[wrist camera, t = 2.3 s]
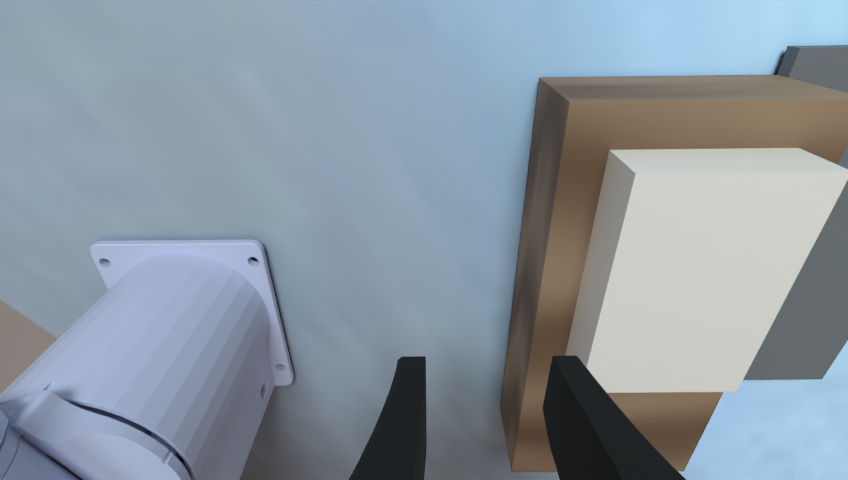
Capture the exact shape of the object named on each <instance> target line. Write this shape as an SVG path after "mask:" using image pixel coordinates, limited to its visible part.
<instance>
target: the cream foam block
mask: <svg viewBox="0 0 848 480" xmlns="http://www.w3.org/2000/svg"><path fill="white" fill-rule="evenodd" d="M847 180H848V169H846V168H844V167H841V166H839V165H837V164H835V163H832V162H830V161H828V160H825V159H823V158H821V157H819V156H816V155H814V154H812V153H809V152H807V151H805V150H803V149H800V148H733V149H640V150H609V154H608V159H607V163H606V168H605V173H604V177H603V182H602V187H601V191H600V196H599V201H598V205H597V210H596V215H595V219H594V224H593V229H592V233H591V238H590V243H589V247H588V252H587V257H586V261H585V266H584V271H583V275H582V280H581V285H580V289H579V294H578V299H577V303H576V308H575V313H574V317H573V322H572V327H571V331H570V336H569V341H568V345H567V350H566V356H571V355H576V356H577V357H578V358H579V359H580V360H581V361H582V363H583V364H584V365H585V366H586V368H587V369H588V370H589V371H590V373H591V374H592V375H593V376H594V378H595V379H596V380H597V381H598V383H599V384H600V385H601V386H602V388H603V389H604V390H605V391H606V393H648V392H737V390H738V388H739V386H740V385H741V383H742V381H743V379H744V377H745V375H746V373H747V371H748V369H749V367H750V366H751V364H752V362H753V360H754V358H755V356H756V354H757V352H758V350H759V348H760V346H761V345H762V343H763V341H764V339H765V337H766V335H767V333H768V331H769V329H770V327H771V325H772V324H773V322H774V320H775V318H776V316H777V314H778V312H779V310H780V308H781V306H782V304H783V303H784V301H785V299H786V297H787V295H788V293H789V291H790V289H791V287H792V285H793V283H794V282H795V280H796V278H797V276H798V274H799V272H800V270H801V268H802V266H803V264H804V262H805V261H806V259H807V257H808V255H809V253H810V251H811V249H812V247H813V245H814V243H815V241H816V240H817V238H818V236H819V234H820V232H821V230H822V228H823V226H824V224H825V222H826V220H827V219H828V217H829V215H830V213H831V211H832V209H833V207H834V205H835V203H836V201H837V199H838V198H839V196H840V194H841V192H842V190H843V188H844V186H845V184H846V182H847Z"/></svg>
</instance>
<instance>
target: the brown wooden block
mask: <svg viewBox="0 0 848 480" xmlns="http://www.w3.org/2000/svg"><path fill="white" fill-rule="evenodd" d="M847 145H848V93H846V92H842V91H838V90H834V89H830V88H827V87H823V86H819V85H815V84H811V83H807V82H803V81H799V80H795V79H791V78H788V77H784V76H780V75H714V76H630V77H545V78H539V85H538V93H537V102H536V110H535V119H534V127H533V136H532V144H531V152H530V161H529V169H528V178H527V186H526V195H525V203H524V212H523V220H522V228H521V237H520V245H519V254H518V262H517V271H516V279H515V288H514V296H513V304H512V313H511V321H510V330H509V338H508V347H507V355H506V364H505V372H504V380H503V389H502V397H501V406H500V409H501V415H502V421H503V426H504V432H505V437H506V443H507V449H508V454H509V460H510V465H511V471H512V472H557V468H556V465H555V462H554V459H553V455H552V452H551V449H550V444H549V440H548V435H547V430H546V424H545V419H544V414H543V403H544V398H545V392H546V387H547V382H548V377H549V372H550V367H551V361H552V356H566V350H567V345H568V341H569V336H570V331H571V327H572V322H573V317H574V313H575V308H576V303H577V299H578V294H579V289H580V285H581V280H582V275H583V271H584V266H585V261H586V257H587V252H588V247H589V243H590V238H591V233H592V229H593V224H594V219H595V215H596V210H597V205H598V201H599V196H600V191H601V187H602V182H603V177H604V173H605V168H606V163H607V159H608V154H609V150H640V149H733V148H800V149H803V150H805V151H807V152H809V153H812V154H814V155H816V156H819V157H821V158H823V159H825V160H828V161H830V162H832V163H835V164H837V165H838V163H839V161H840V159H841V157H842V155H843V153H844V151H845V149H846V147H847ZM607 394H608V395H609V396H610V397H611V399H612V400H613V401H614V402H615V403H616V405H617V406H618V407H619V408H620V409H621V411H622V412H623V413H624V414H625V415H626V416H627V417H628V419H629V420H630V421H631V422H632V423H633V424H634V425H635V427H636V428H637V429H638V430H639V431H640V432H641V433H642V434H643V436H644V437H645V438H646V439H647V440H648V441H649V442H650V443H651V444H652V445H653V446H654V447H655V449H656V450H657V451H658V452H659V453H660V454H661V455H662V456H663V457H664V458H665V459H666V460H667V461H668V462H669V463H670V464H671V465H672V466H673V467H674V468H675V469H676V470H677V471H684V470H685V468H686V466H687V464H688V462H689V460H690V458H691V456H692V454H693V452H694V450H695V448H696V446H697V444H698V442H699V440H700V438H701V436H702V434H703V432H704V430H705V428H706V426H707V424H708V422H709V420H710V418H711V416H712V414H713V412H714V410H715V408H716V406H717V404H718V402H719V400H720V398H721V396H722V394H723V392H648V393H607Z"/></svg>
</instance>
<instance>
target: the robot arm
mask: <svg viewBox="0 0 848 480" xmlns="http://www.w3.org/2000/svg"><path fill="white" fill-rule="evenodd" d="M90 253H91V255H92V257H93V260H94V262H95V264H96V266H97V268H98V270H99V272H100V274H101V276H102V278H103V280H104V282H105V285H106V287H107V289H108V291H107V292H106V293H105V294H104V295H103V296H102V297H101V298H100V299H99V300H98V301H97V302H96V303H95V304H93V305H92V306H91V307H90V308H89V309H88V310H87V311H86V312H85V313H84V314H83V315H82V316H81V317H80V318H79V319H78V320H77V321H76V322H75V323H74V324H73V325H72V326H71V327H70V328H69V329H68V330H67V331H66V332H65V333H63V334H62V335H61V336H60V337H59V338H58V339H57V340H56V341H55V342H54V343H53V344H52V345H51V346H50V347H49V348H48V349H47V350H46V351H45V352H44V353H43V354H42V355H41V356H40V357H39V358H38V359H37V360H36V361H35V362H34V363H33V364H31V366H29V367H28V368H27V369H26V370H25V371H24V372H23V373H22V374H21V375H20V376H19V377H18V378H17V379H16V380H15V381H14V382H13V383H12V384H11V385H10V386H9V387H8V388H7V389H6V390H5V391H4V392H2V394H0V480H239V479H240V477H241V475H242V472H243V469H244V466H245V464H246V461H247V458H248V456H249V453H250V450H251V448H252V445H253V442H254V440H255V437H256V434H257V432H258V429H259V426H260V424H261V421H262V418H263V416H264V413H265V410H266V408H267V405H268V402H269V399H270V397H271V394H272V391H273V389H274V386H286V385H290V384H291V383H292V382H293V379H294V374H293V369H292V365H291V361H290V357H289V352H288V348H287V344H286V340H285V335H284V331H283V327H282V323H281V318H280V314H279V310H278V305H277V301H276V297H275V293H274V288H273V284H272V280H271V276H270V271H269V267H268V263H267V259H266V254H265V250H264V247H263V245H262V244H261V243H260V242H258V241H256V240H146V241H98V242H96V243H95V244H94V245H93V246H91V248H90ZM251 257H255V258H257V259H258V262H256V261H253V260H252V259H251ZM105 259H107V260H109V262H110V263H109V262H108V261H106V260H105ZM280 364H282V365H280ZM543 414H544V419H545V424H546V430H547V435H548V440H549V444H550V449H551V452H552V455H553V459H554V462H555V465H556V468H557V472H558V475H559V478H560V480H686V479H685V478H684V477H683V476H682V475H681V474H680V473H679V472H678V471H677V470H676V469H675V468H674V467H673V466H672V465H671V464H670V463H669V462H668V461H667V460H666V459H665V458H664V457H663V456H662V455H661V454H660V453H659V452H658V451H657V450H656V449H655V447H654V446H653V445H652V444H651V443H650V442H649V441H648V440H647V439H646V438H645V437H644V436H643V434H642V433H641V432H640V431H639V430H638V429H637V428H636V427H635V425H634V424H633V423H632V422H631V421H630V420H629V419H628V417H627V416H626V415H625V414H624V413H623V412H622V411H621V409H620V408H619V407H618V406H617V405H616V403H615V402H614V401H613V400H612V399H611V397H610V396H609V395H608V394H607V393H606V391H605V390H604V389H603V388H602V386H601V385H600V384H599V383H598V381H597V380H596V379H595V378H594V376H593V375H592V374H591V373H590V371H589V370H588V369H587V368H586V366H585V365H584V364H583V363H582V361H581V360H580V359H579V358H578V357H577V356H576V355H571V356H552V361H551V367H550V372H549V377H548V382H547V387H546V392H545V398H544V403H543ZM425 459H426V360H425V357H401V358H400V359H399V360H398V362H397V368H396V372H395V375H394V379H393V382H392V385H391V388H390V391H389V394H388V397H387V399H386V402H385V405H384V407H383V409H382V412H381V414H380V417H379V419H378V421H377V424H376V426H375V428H374V431H373V433H372V435H371V437H370V439H369V441H368V443H367V445H366V447H365V449H364V451H363V453H362V455H361V458H360V460H359V462H358V464H357V465H356V467H355V469H354V471H353V473H352V475H351V477H350V479H349V480H424V472H425Z"/></svg>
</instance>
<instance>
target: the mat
mask: <svg viewBox="0 0 848 480" xmlns="http://www.w3.org/2000/svg"><path fill="white" fill-rule="evenodd" d="M777 75H780V76H784V77H788V78H791V79H795V80H799V81H803V82H807V83H811V84H815V85H819V86H823V87H827V88H830V89H834V90H838V91H842V92H846V93H848V45H834V46H788V47H787V50H786V52H785V55H784V57H783V60H782V63H781V65H780V68H779V71H778V73H777ZM838 165H839V166H841V167H844V168H846V169H848V145H847V147H846V149H845V151H844V153H843V155H842V157H841V159H840V161H839V163H838ZM847 340H848V180H847V182H846V184H845V186H844V188H843V190H842V192H841V194H840V196H839V198H838V199H837V201H836V203H835V205H834V207H833V209H832V211H831V213H830V215H829V217H828V219H827V220H826V222H825V224H824V226H823V228H822V230H821V232H820V234H819V236H818V238H817V240H816V241H815V243H814V245H813V247H812V249H811V251H810V253H809V255H808V257H807V259H806V261H805V262H804V264H803V266H802V268H801V270H800V272H799V274H798V276H797V278H796V280H795V282H794V283H793V285H792V287H791V289H790V291H789V293H788V295H787V297H786V299H785V301H784V303H783V304H782V306H781V308H780V310H779V312H778V314H777V316H776V318H775V320H774V322H773V324H772V325H771V327H770V329H769V331H768V333H767V335H766V337H765V339H764V341H763V343H762V345H761V346H760V348H759V350H758V352H757V354H756V356H755V358H754V360H753V362H752V364H751V366H750V367H749V369H748V371H747V373H746V375H745V377H744V379H743V380H777V379H822V378H823V377H824V375H825V374H826V372H827V371H828V369H829V368H830V366H831V364H832V363H833V361H834V360H835V358H836V357H837V355H838V354H839V352H840V351H841V349H842V348H843V346H844V345H845V343H846V342H847Z"/></svg>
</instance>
